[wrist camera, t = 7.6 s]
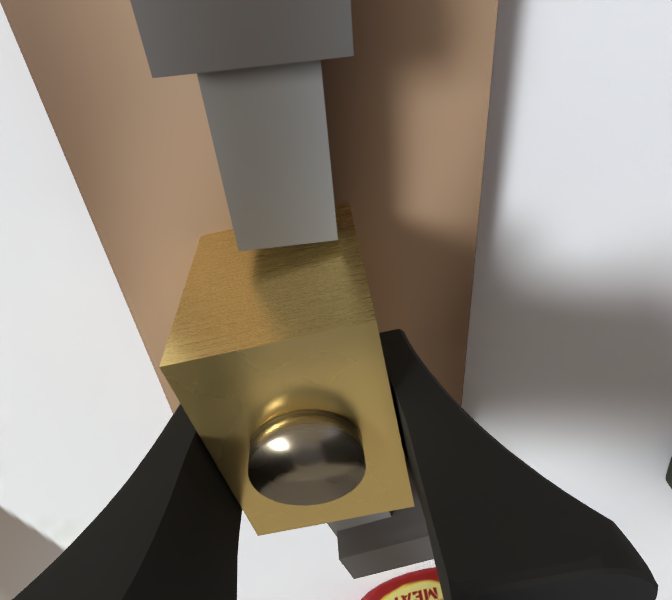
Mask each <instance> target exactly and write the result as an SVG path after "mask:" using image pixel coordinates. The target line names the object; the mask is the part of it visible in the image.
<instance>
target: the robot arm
mask: <svg viewBox="0 0 672 600" xmlns="http://www.w3.org/2000/svg"><path fill="white" fill-rule="evenodd" d="M379 336H380V341H381V346H382V351H383V356H384V360H385V365H386V370H387V375H388V380H389V385H390V390H391V394H392V399H393V404H394V409H395V414H396V419H397V424H398V428H399V433H400V438H401V443H402V448H403V451H404V454H405V457H406V460H407V463H408V466H409V469H410V472H411V475H412V478H413V481H414V484H415V488H416V491H417V494H418V497H419V500H420V503H421V507H422V510H423V514H424V517H425V521H426V525H427V530H428V534H429V538H430V543H431V547H432V551H433V556H434V560H435V564H436V569H437V573H438V578H439V582H440V586H441V591H442V595H443V599H444V600H655V599H656V596H657V591H658V584H657V583H656V581H655V579H654V577H653V575H652V573H651V571H650V570H649V568H648V566H647V565H646V563H645V562H644V560H643V559H642V557H641V556H640V555H639V553H638V552H637V551H636V549H635V548H634V547H633V545H632V544H631V543H630V541H629V540H628V539H627V538H626V536H625V535H624V534H623V533H622V531H621V530H620V529H619V528H618V527H617V525H616V524H615V523H614V522H613V521H611V520H610V519H608V518H606V517H605V516H603V515H601V514H600V513H598V512H596V511H595V510H593V509H592V508H590V507H588V506H587V505H585V504H583V503H582V502H580V501H579V500H577V499H576V498H574V497H572V496H571V495H569V494H568V493H566V492H565V491H563V490H562V489H560V488H559V487H558V486H556V485H555V484H553V483H552V482H550V481H549V480H547V479H546V478H544V477H543V476H542V475H540V474H539V473H538V472H536V471H535V470H534V469H532V468H531V467H530V466H528V465H527V464H526V463H524V462H523V461H522V460H521V459H519V458H518V457H517V456H515V455H514V454H513V453H511V452H510V451H509V450H508V449H506V448H505V447H504V446H503V445H502V444H500V443H499V442H498V441H497V440H496V439H495V438H493V437H492V436H491V435H490V434H489V433H488V432H487V431H486V430H484V429H483V428H482V427H481V426H480V425H479V424H478V423H477V422H476V421H475V420H474V419H473V418H472V417H471V416H470V415H469V414H468V413H467V412H466V411H465V410H464V409H463V408H462V407H461V406H460V405H459V404H458V403H457V402H456V401H455V400H454V399H453V398H452V397H451V396H450V395H449V393H448V392H447V391H446V390H445V389H444V388H443V387H442V385H441V384H440V383H439V382H438V381H437V379H436V378H435V377H434V376H433V375H432V373H431V372H430V371H429V370H428V368H427V367H426V366H425V364H424V363H423V362H422V360H421V359H420V357H419V356H418V355H417V353H416V352H415V350H414V349H413V347H412V345H411V344H410V342H409V340H408V339H407V337H406V335H405V333H404V331H402V330H401V329H395V330H390V331H386V332H381V333H379ZM241 514H242V508H241V506H240V504H239V502H238V501H237V499H236V497H235V496H234V494H233V492H232V490H231V489H230V487H229V485H228V484H227V482H226V480H225V478H224V477H223V475H222V473H221V472H220V470H219V468H218V467H217V465H216V463H215V461H214V460H213V458H212V456H211V455H210V453H209V451H208V449H207V448H206V446H205V444H204V443H203V441H202V439H201V438H200V436H199V434H198V432H197V431H196V429H195V427H194V426H193V424H192V422H191V420H190V419H189V417H188V415H187V414H186V412H185V410H184V409H183V407H182V405H181V403H180V405H179V406H178V408H177V409H176V411H175V413H174V414H173V416H172V417H171V419H170V420H169V422H168V424H167V425H166V427H165V428H164V430H163V431H162V433H161V434H160V436H159V437H158V439H157V440H156V442H155V443H154V445H153V446H152V448H151V449H150V450H149V452H148V453H147V455H146V456H145V458H144V459H143V460H142V462H141V463H140V465H139V466H138V467H137V469H136V470H135V471H134V473H133V474H132V475H131V477H130V478H129V479H128V481H127V482H126V483H125V484H124V486H123V487H122V488H121V489H120V490H119V492H118V493H117V494H116V495H115V496H114V498H113V499H112V500H111V501H110V502H109V504H108V505H107V506H106V507H105V508H104V509H103V511H102V512H101V513H100V514H99V515H98V516H97V517H96V518H95V519H94V520H93V521H92V523H91V524H90V525H89V526H88V527H87V528H86V529H85V530H84V531H83V532H82V533H81V534H80V535H79V536H78V537H77V539H76V540H75V541H74V542H73V543H72V544H71V545H70V546H69V547H68V548H67V549H66V550H65V551H64V552H63V553H62V554H61V555H60V556H59V557H58V558H57V559H56V560H55V561H54V562H53V563H52V564H51V565H50V566H49V567H48V568H47V569H45V570H44V571H43V572H42V573H41V574H40V575H39V576H38V577H37V578H36V579H35V580H34V581H32V582H31V583H30V584H29V585H28V586H27V587H26V588H25V589H24V590H23V591H21V592H20V593H19V594H18V595H17V596H16V597H15V598H14V599H12V600H237V555H238V541H239V531H240V522H241Z"/></svg>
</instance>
